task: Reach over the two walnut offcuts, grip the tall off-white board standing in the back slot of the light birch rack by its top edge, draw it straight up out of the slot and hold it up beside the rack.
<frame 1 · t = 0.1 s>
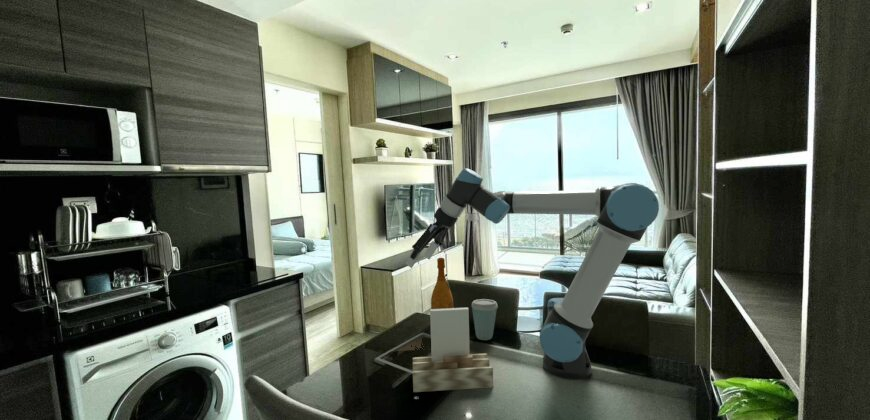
hand: (417, 261, 125), 36 cm above the table, tool tilted 35°, fingers open, 13 cm apart
offcut near sheet: (458, 381, 111), point 1 cm above the table, touching rack
offcut front: (446, 386, 109), point 1 cm above the table, touching rack
rack: (452, 384, 111), on the table
picture frame: (421, 354, 134), on the table
tall sheet: (451, 376, 114), point 1 cm above the table, touching rack
disposable coffee cup: (485, 337, 145), on the table
wine bottle: (442, 325, 159), on the table
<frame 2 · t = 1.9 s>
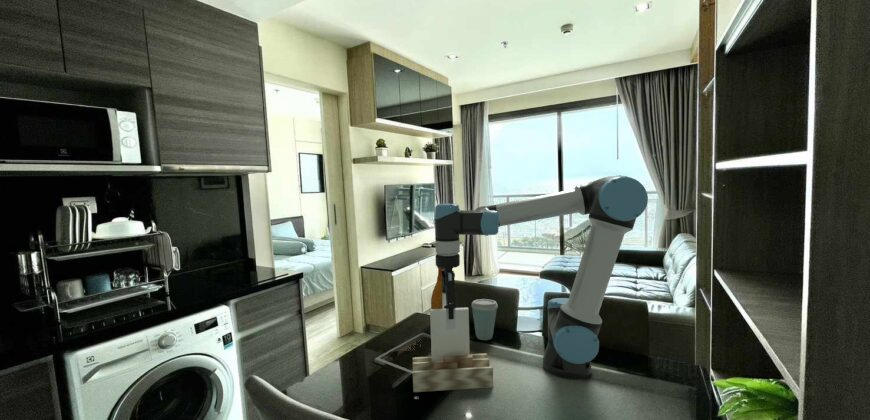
hand: (448, 320, 113), 19 cm above the table, tool pointing down, fingers open, 13 cm apart
nothing on the table moved.
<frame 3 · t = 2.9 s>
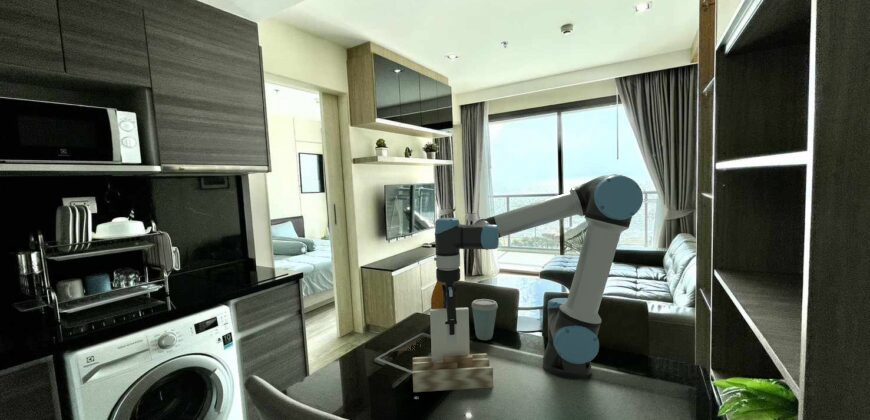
hand: (449, 335, 113), 14 cm above the table, tool pointing down, fingers open, 11 cm apart
nothing on the table moved.
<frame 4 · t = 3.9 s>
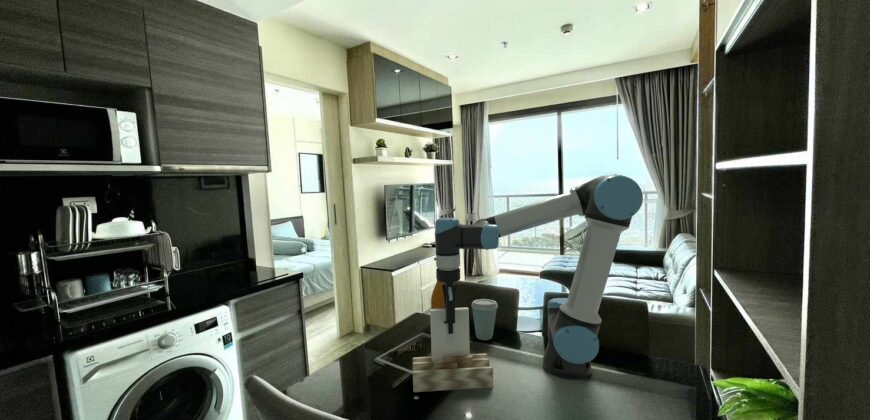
hand: (450, 340, 113), 13 cm above the table, tool pointing down, fingers closed on tall sheet, 2 cm apart
tall sheet: (451, 376, 114), point 1 cm above the table, touching gripper
everything else where it was.
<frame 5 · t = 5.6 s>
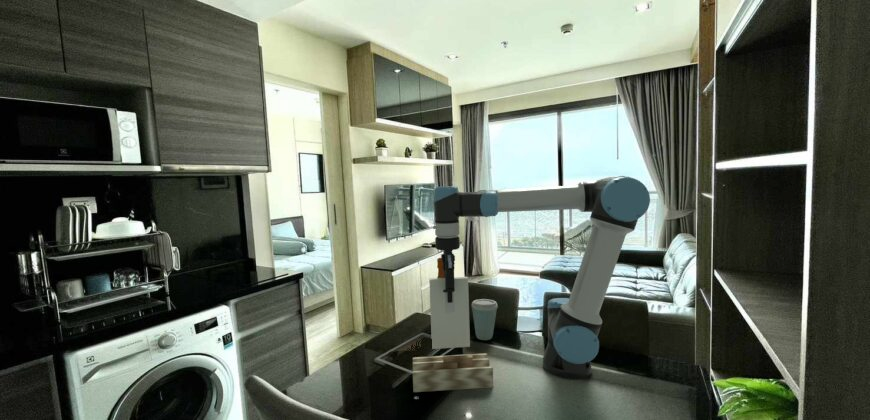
hand: (449, 310, 113), 23 cm above the table, tool pointing down, fingers closed on tall sheet, 2 cm apart
tall sheet: (450, 346, 113), point 11 cm above the table, touching gripper
everything else where it was.
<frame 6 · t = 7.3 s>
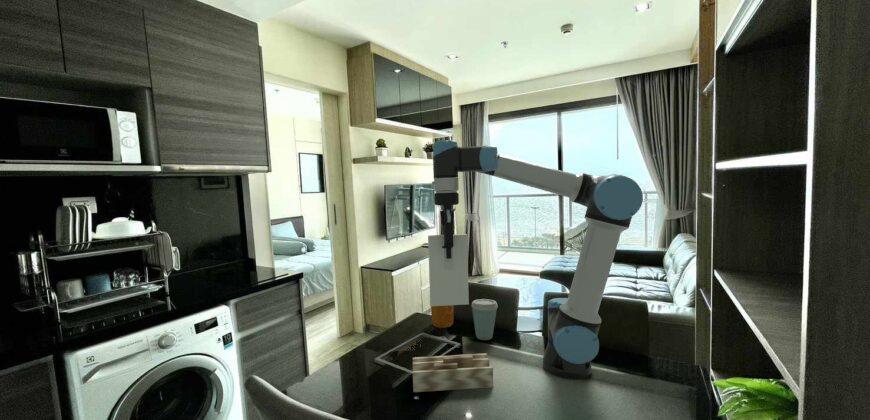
hand: (448, 267, 112), 36 cm above the table, tool pointing down, fingers closed on tall sheet, 2 cm apart
tall sheet: (449, 304, 112), point 25 cm above the table, touching gripper
everything else where it was.
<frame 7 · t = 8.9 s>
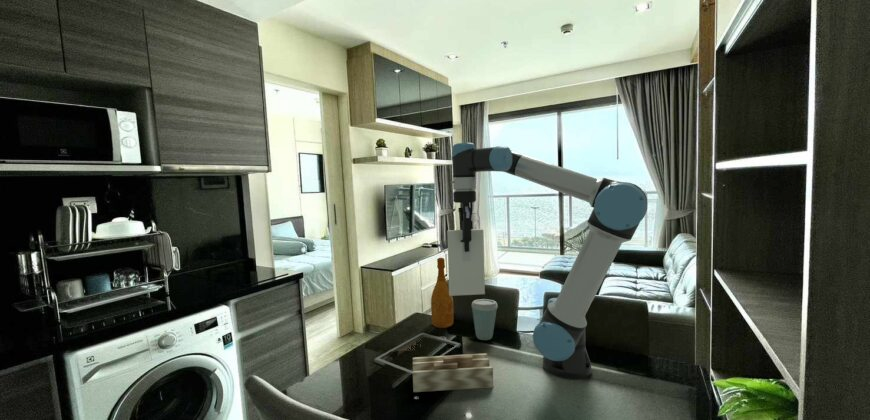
hand: (466, 260, 121), 36 cm above the table, tool pointing down, fingers closed on tall sheet, 2 cm apart
tall sheet: (466, 294, 122), point 25 cm above the table, touching gripper
everything else where it was.
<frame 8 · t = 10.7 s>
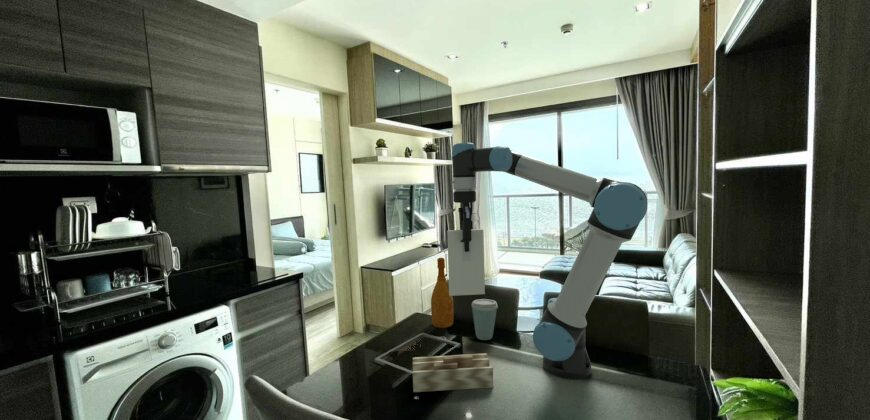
hand: (466, 260, 121), 36 cm above the table, tool pointing down, fingers closed on tall sheet, 2 cm apart
tall sheet: (466, 294, 122), point 25 cm above the table, touching gripper
everything else where it was.
at the end: the gripper is holding tall sheet; tall sheet point 24.7 cm above the table; offcut near sheet moved 0.1 cm from its start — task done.
